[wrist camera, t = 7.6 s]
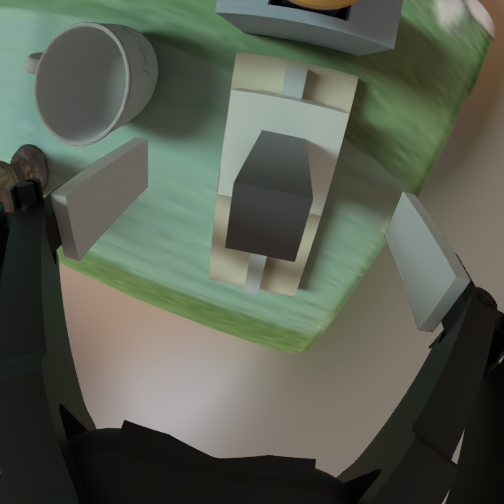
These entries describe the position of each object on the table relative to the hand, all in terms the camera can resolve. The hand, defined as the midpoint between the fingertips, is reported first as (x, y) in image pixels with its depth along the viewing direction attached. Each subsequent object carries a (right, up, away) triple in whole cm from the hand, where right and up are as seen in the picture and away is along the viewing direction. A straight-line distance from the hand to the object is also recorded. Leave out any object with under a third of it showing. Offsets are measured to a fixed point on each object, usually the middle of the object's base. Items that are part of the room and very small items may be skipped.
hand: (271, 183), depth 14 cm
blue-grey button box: (+4, +17, +4) cm, 18 cm away
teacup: (-15, +15, +9) cm, 23 cm away
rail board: (+1, +3, +14) cm, 15 cm away
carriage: (+2, +6, +9) cm, 11 cm away
